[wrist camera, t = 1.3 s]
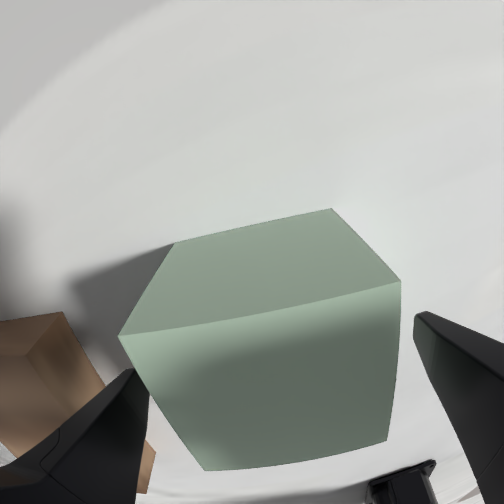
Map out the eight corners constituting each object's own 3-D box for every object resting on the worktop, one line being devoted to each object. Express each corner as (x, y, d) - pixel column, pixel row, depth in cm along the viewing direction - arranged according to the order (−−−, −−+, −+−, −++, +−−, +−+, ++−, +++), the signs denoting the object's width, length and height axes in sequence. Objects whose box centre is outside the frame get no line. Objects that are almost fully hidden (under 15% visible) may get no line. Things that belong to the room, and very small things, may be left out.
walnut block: (157, 448, 18) (146, 494, 14) (43, 435, 19) (27, 468, 15) (65, 307, 13) (25, 355, 10) (-36, 324, 14) (-66, 354, 11)
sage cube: (345, 335, 13) (386, 440, 8) (218, 360, 14) (204, 471, 8) (331, 207, 11) (401, 280, 6) (175, 241, 12) (117, 336, 6)
